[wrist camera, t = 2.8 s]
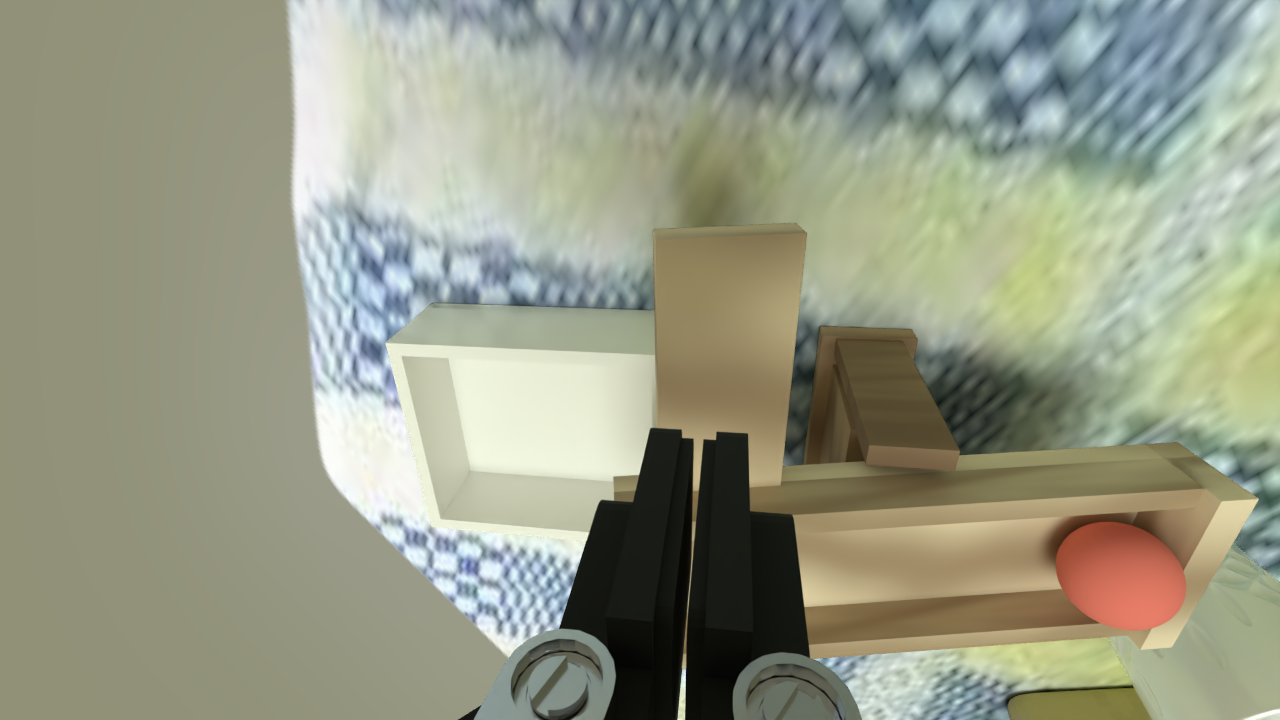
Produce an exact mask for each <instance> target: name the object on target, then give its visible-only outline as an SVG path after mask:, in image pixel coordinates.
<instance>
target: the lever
mask: <svg viewBox="0 0 1280 720" xmlns="http://www.w3.org/2000/svg"><path fill="white" fill-rule="evenodd" d="M806 237H807V233H806V232H805V231H804V230H803V229H802V228H801V227H800V226H799V225H798V224H797V223H782V224H759V225H736V226H714V227H691V228H668V229H653V267H654V324H655V380H656V428H666V429H682V438H694V462H693V514H692V560H693V549H694V538H695V527H696V516H697V505H698V494H699V483H700V472H701V461H702V450H703V440H704V439H710V440H716V431H717V432H733V433H748V446H749V486H750V511H755V512H768V513H781V514H792V515H793V518H794V524H795V532H796V540H797V549H798V557H799V566H800V574H801V583H802V591H803V600H804V608H805V617H806V625H807V634H808V642H809V651H810V658H811V659H817V658H831V657H844V656H858V655H871V654H885V653H898V652H912V651H925V650H939V649H952V648H966V647H979V646H993V645H1006V644H1020V643H1033V642H1047V641H1060V640H1074V639H1087V638H1101V637H1114V636H1128V637H1129V638H1130V639H1131V640H1132V641H1133V642H1134V643H1135V644H1136V646H1137V647H1138V648H1139V649H1140V650H1145V649H1158V648H1171V647H1173V645H1174V643H1175V641H1176V640H1177V638H1178V636H1179V635H1180V633H1181V631H1182V629H1183V628H1184V626H1185V624H1186V623H1187V621H1188V619H1189V617H1190V616H1191V614H1192V612H1193V611H1194V609H1195V607H1196V606H1197V604H1198V602H1199V600H1200V599H1201V597H1202V595H1203V594H1204V592H1205V590H1206V588H1207V587H1208V585H1209V583H1210V582H1211V580H1212V578H1213V577H1214V575H1215V573H1216V571H1217V570H1218V568H1219V566H1220V565H1221V563H1222V561H1223V559H1224V558H1225V556H1226V554H1227V553H1228V551H1229V549H1230V547H1231V546H1232V544H1233V542H1234V541H1235V539H1236V537H1237V536H1238V534H1239V532H1240V530H1241V529H1242V527H1243V525H1244V524H1245V522H1246V520H1247V518H1248V517H1249V515H1250V513H1251V512H1252V510H1253V508H1254V507H1255V505H1256V503H1257V501H1258V500H1259V499H1258V498H1257V497H1255V496H1254V495H1252V494H1251V493H1250V492H1248V491H1247V490H1245V489H1244V488H1242V487H1241V486H1240V485H1238V484H1237V483H1235V482H1234V481H1232V480H1231V479H1229V478H1228V477H1227V476H1225V475H1224V474H1222V473H1221V472H1219V471H1218V470H1217V469H1215V468H1214V467H1212V466H1211V465H1209V464H1208V463H1207V462H1205V461H1204V460H1202V459H1201V458H1199V457H1198V456H1196V455H1195V454H1194V453H1192V452H1191V451H1189V450H1188V449H1186V448H1185V447H1184V446H1182V445H1181V444H1179V443H1178V442H1173V443H1156V444H1140V445H1124V446H1107V447H1091V448H1074V449H1058V450H1041V451H1025V452H1008V453H992V454H975V455H959V458H958V461H957V465H956V469H955V471H950V470H935V469H921V468H906V467H891V466H876V465H866V464H865V461H860V462H843V463H827V464H811V465H794V466H783V457H784V448H785V438H786V429H787V419H788V410H789V400H790V390H791V381H792V371H793V362H794V352H795V342H796V333H797V323H798V314H799V304H800V294H801V285H802V275H803V266H804V256H805V247H806ZM638 478H639V475H629V476H613V483H614V501H625V502H633V499H634V495H635V491H636V486H637V482H638ZM1098 522H1118V523H1124V524H1128V525H1132V526H1134V527H1137V528H1140V529H1142V530H1144V531H1146V532H1148V533H1150V534H1151V535H1153V536H1155V537H1156V538H1158V539H1159V540H1160V541H1161V542H1163V543H1164V544H1165V545H1166V546H1167V547H1168V548H1169V549H1170V550H1171V551H1172V552H1173V554H1174V555H1175V556H1176V558H1177V559H1178V561H1179V563H1180V565H1181V567H1182V569H1183V572H1184V575H1185V579H1186V595H1185V600H1184V602H1183V604H1182V607H1181V609H1180V610H1179V611H1178V613H1177V614H1176V615H1175V616H1174V617H1173V618H1172V619H1170V620H1169V621H1168V622H1166V623H1164V624H1162V625H1160V626H1158V627H1155V628H1152V629H1146V630H1137V631H1133V630H1122V629H1117V628H1113V627H1109V626H1107V625H1104V624H1102V623H1099V622H1097V621H1095V620H1093V619H1092V618H1090V617H1088V616H1087V615H1085V614H1084V613H1083V612H1081V611H1080V610H1079V609H1078V608H1077V607H1076V606H1074V604H1073V603H1072V602H1071V601H1070V600H1069V599H1068V597H1067V596H1066V595H1065V593H1064V591H1063V590H1062V588H1061V586H1060V583H1059V581H1058V577H1057V574H1056V556H1057V553H1058V550H1059V547H1060V545H1061V544H1062V542H1063V541H1064V540H1065V539H1066V537H1067V536H1068V535H1069V534H1071V533H1072V532H1073V531H1075V530H1076V529H1078V528H1080V527H1082V526H1085V525H1088V524H1092V523H1098ZM692 560H691V571H692ZM690 582H691V576H690ZM689 593H690V587H689ZM688 605H689V598H688ZM687 619H688V609H687ZM687 619H686V630H685V641H684V652H683V663H682V668H686V642H687Z"/></svg>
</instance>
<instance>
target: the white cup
mask: <svg viewBox="0 0 1280 720" xmlns="http://www.w3.org/2000/svg"><path fill="white" fill-rule="evenodd" d="M1108 639H1109V640H1110V642H1111V644H1112V645H1113V648H1114V650H1115V652H1116V655H1117V657H1118V659H1119V661H1120V663H1121V665H1122V666H1123V668H1124V670H1125V672H1126V674H1127V676H1128V678H1129V679H1130V681H1131V683H1132V685H1133V687H1134V689H1135V690H1136V692H1137V694H1138V696H1139V698H1140V700H1141V702H1142V703H1143V705H1144V707H1145V709H1146V711H1147V713H1148V715H1149V717H1150V718H1151V720H1280V583H1279V582H1278V581H1277V580H1276V579H1275V578H1274V577H1273V576H1271V575H1270V574H1269V573H1268V572H1267V571H1265V570H1264V569H1262V568H1261V567H1259V566H1257V565H1256V564H1255V563H1254V562H1253V561H1252V560H1251V559H1250V558H1249V557H1248V556H1247V555H1246V554H1245V553H1244V552H1243V551H1242V550H1241V549H1240V548H1239V547H1238V546H1237V545H1236V544H1235V543H1234V542H1233V544H1232V546H1231V547H1230V549H1229V551H1228V553H1227V554H1226V556H1225V558H1224V559H1223V561H1222V563H1221V565H1220V566H1219V568H1218V570H1217V571H1216V573H1215V575H1214V577H1213V578H1212V580H1211V582H1210V583H1209V585H1208V587H1207V588H1206V590H1205V592H1204V594H1203V595H1202V597H1201V599H1200V600H1199V602H1198V604H1197V606H1196V607H1195V609H1194V611H1193V612H1192V614H1191V616H1190V617H1189V619H1188V621H1187V623H1186V624H1185V626H1184V628H1183V629H1182V631H1181V633H1180V635H1179V636H1178V638H1177V640H1176V641H1175V643H1174V645H1173V647H1171V648H1158V649H1145V650H1140V649H1139V648H1138V647H1137V646H1136V644H1135V643H1134V642H1133V641H1132V640H1131V639H1130V638H1129V637H1128V636H1114V637H1108Z"/></svg>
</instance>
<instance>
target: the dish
mask: <svg viewBox="0 0 1280 720" xmlns="http://www.w3.org/2000/svg"><path fill="white" fill-rule="evenodd" d="M386 347H387V351H388V355H389V359H390V363H391V367H392V371H393V375H394V379H395V383H396V387H397V391H398V395H399V399H400V403H401V407H402V411H403V414H404V418H405V422H406V426H407V430H408V434H409V438H410V442H411V446H412V450H413V454H414V458H415V462H416V466H417V470H418V474H419V478H420V482H421V486H422V490H423V494H424V498H425V502H426V506H427V510H428V514H429V518H430V522H431V526H432V527H437V528H448V529H459V530H470V531H481V532H492V533H503V534H514V535H525V536H536V537H547V538H558V539H569V540H580V541H587V538H588V535H589V531H590V528H591V525H592V522H593V519H594V515H595V512H596V509H597V506H598V504H599V502H600V501H601V500H612V501H614V483H613V476H629V475H639V474H640V469H641V465H642V461H643V457H644V452H645V448H646V444H647V440H648V435H649V431H650V428H656V380H655V324H654V310H625V309H596V308H567V307H538V306H509V305H479V304H450V303H431V304H430V305H429V306H428V307H427V308H425V309H424V310H423V311H422V312H421V313H420V314H419V315H417V316H416V317H415V318H414V319H413V320H412V321H410V322H409V323H408V324H407V325H406V326H405V327H403V328H402V329H401V330H400V331H399V332H398V333H397V334H395V335H394V336H393V337H392V338H391V339H390V340H388V341H387V342H386Z"/></svg>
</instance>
